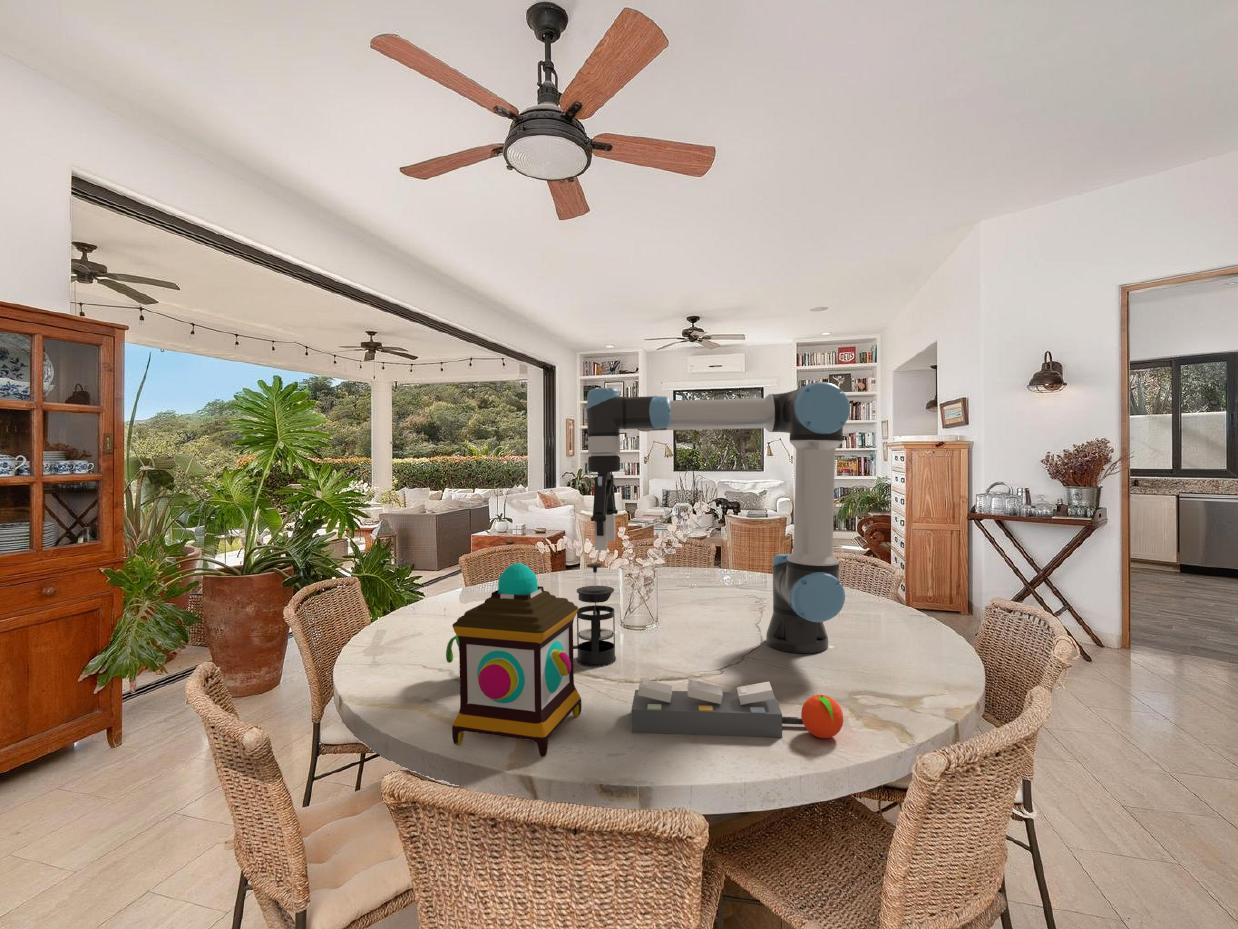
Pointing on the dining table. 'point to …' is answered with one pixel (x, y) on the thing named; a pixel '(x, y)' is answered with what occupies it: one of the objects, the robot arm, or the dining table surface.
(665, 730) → the power strip
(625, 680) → the dining table surface
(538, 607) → the decorative lantern
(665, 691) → the rocker
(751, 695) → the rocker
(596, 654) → the french press
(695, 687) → the plate
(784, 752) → the dining table surface
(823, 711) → the clementine
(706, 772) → the dining table surface
